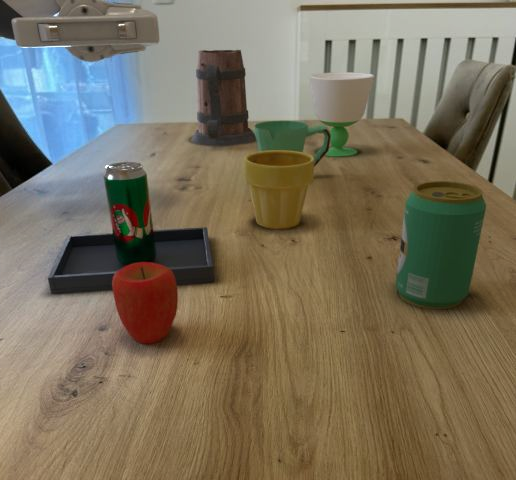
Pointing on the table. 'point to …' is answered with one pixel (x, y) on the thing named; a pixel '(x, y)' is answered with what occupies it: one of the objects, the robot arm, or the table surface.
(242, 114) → the tankard
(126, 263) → the soda can
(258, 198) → the flower pot
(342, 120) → the cup
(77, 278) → the tray
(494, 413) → the table surface
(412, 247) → the beverage can
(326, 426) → the table surface
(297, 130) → the mug
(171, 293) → the apple
